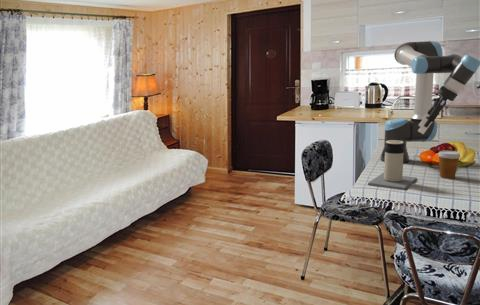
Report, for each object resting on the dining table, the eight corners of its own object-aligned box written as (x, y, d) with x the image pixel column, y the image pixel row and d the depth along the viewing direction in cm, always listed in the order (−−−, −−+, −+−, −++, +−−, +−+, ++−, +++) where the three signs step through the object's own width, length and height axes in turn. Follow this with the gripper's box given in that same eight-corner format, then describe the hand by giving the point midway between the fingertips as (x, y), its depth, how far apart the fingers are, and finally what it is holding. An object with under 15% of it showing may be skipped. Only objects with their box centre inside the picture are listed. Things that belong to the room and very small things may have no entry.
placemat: (382, 175, 206) (382, 173, 206) (416, 179, 197) (416, 177, 197) (367, 184, 190) (368, 182, 190) (404, 190, 181) (404, 187, 181)
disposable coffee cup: (445, 180, 194) (447, 155, 192) (432, 175, 203) (433, 151, 201) (463, 178, 196) (465, 153, 194) (449, 173, 205) (451, 149, 203)
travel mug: (404, 182, 190) (406, 142, 186) (387, 182, 190) (388, 143, 186) (398, 177, 197) (400, 139, 194) (381, 177, 198) (383, 140, 194)
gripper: (460, 97, 170) (428, 139, 179) (456, 90, 192) (428, 128, 201) (443, 87, 172) (412, 130, 180) (441, 82, 194) (414, 120, 203)
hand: (420, 129), depth 191 cm, fingers open, 13 cm apart
